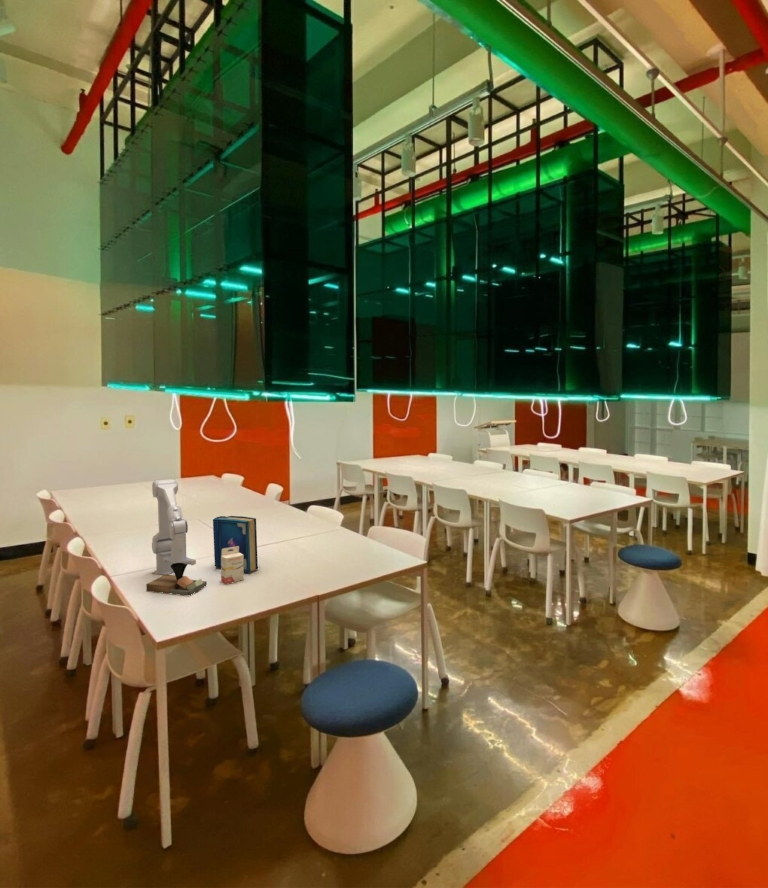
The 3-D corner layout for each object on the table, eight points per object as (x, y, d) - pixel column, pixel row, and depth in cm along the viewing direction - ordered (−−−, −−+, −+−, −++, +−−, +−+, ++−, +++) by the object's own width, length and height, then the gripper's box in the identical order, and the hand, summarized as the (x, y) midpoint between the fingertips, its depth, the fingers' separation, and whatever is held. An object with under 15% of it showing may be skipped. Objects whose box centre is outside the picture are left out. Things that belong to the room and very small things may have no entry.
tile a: (183, 579, 209) (185, 575, 208) (191, 585, 208) (193, 581, 208) (176, 583, 204) (178, 579, 204) (185, 589, 204) (186, 585, 203)
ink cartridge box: (225, 584, 212) (224, 551, 211) (220, 581, 216) (220, 548, 214) (244, 580, 217) (243, 547, 216) (239, 577, 221) (239, 545, 220)
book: (211, 568, 232) (210, 516, 230) (221, 563, 239) (220, 513, 237) (249, 574, 224) (248, 521, 222) (258, 569, 231) (258, 517, 229)
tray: (188, 583, 213) (188, 579, 213) (206, 585, 211) (206, 581, 210) (170, 593, 201) (170, 589, 201) (189, 596, 199) (189, 591, 199)
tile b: (201, 578, 207) (203, 582, 207) (193, 582, 208) (195, 586, 208) (194, 582, 202) (196, 586, 202) (186, 586, 203) (188, 590, 203)
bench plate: (165, 580, 215) (165, 574, 215) (187, 583, 213) (187, 576, 212) (146, 591, 204) (146, 584, 203) (169, 593, 201) (169, 586, 201)
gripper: (157, 549, 203) (158, 581, 204) (188, 552, 200) (188, 585, 201) (168, 545, 210) (169, 575, 211) (198, 547, 207) (199, 579, 208)
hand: (179, 580), depth 207 cm, fingers closed
